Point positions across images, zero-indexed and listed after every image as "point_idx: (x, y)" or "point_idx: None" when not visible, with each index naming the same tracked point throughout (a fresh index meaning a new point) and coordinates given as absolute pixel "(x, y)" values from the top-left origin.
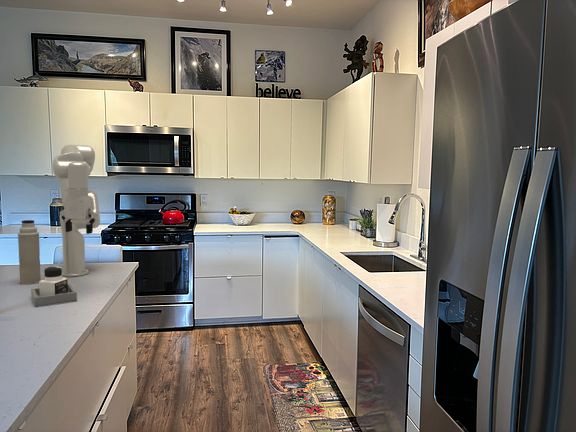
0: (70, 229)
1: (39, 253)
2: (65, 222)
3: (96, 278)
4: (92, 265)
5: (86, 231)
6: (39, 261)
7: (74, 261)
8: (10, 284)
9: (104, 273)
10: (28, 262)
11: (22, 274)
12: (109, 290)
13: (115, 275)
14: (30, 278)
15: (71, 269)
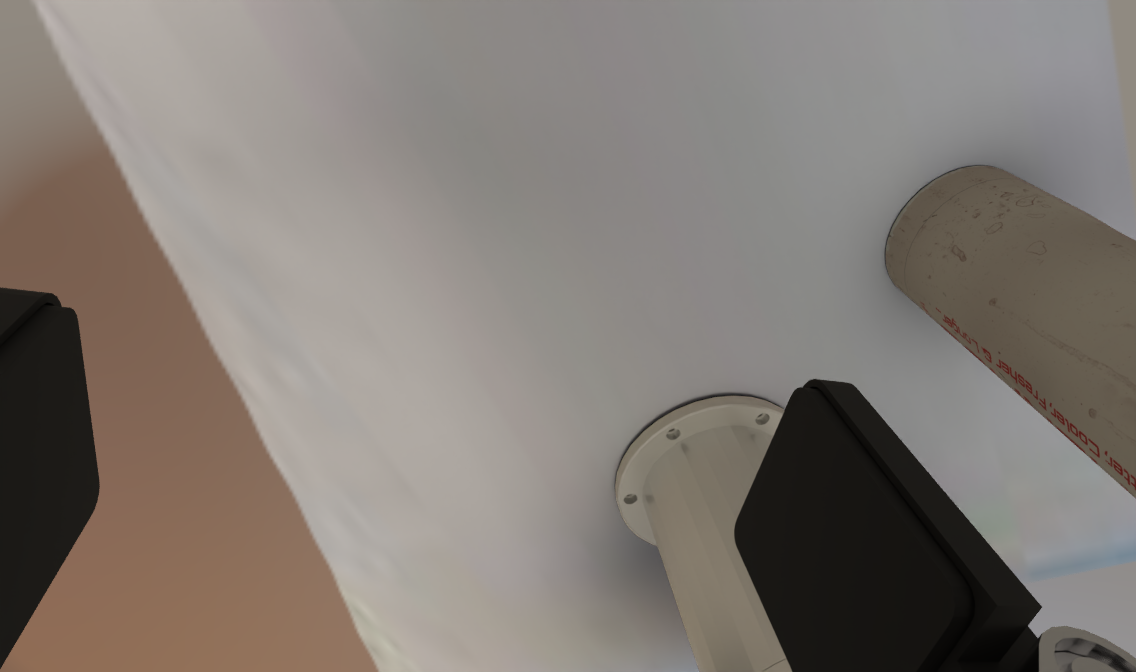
0: (771, 521)
1: (1052, 402)
2: (1050, 632)
3: (488, 396)
4: (673, 644)
5: (7, 333)
6: (995, 345)
7: (722, 510)
8: (1083, 146)
9: (498, 516)
10: (1090, 255)
11: (1054, 198)
12: (119, 45)
13: (384, 489)
14: (967, 196)
15: (722, 452)
